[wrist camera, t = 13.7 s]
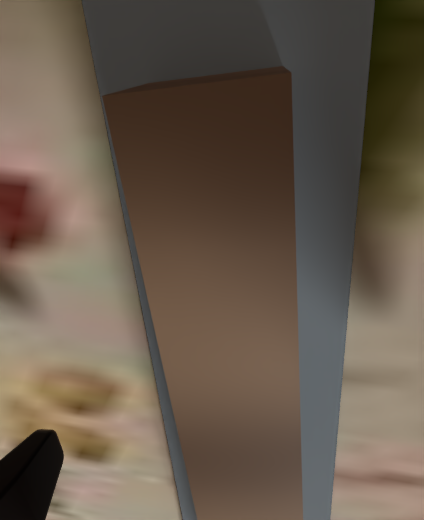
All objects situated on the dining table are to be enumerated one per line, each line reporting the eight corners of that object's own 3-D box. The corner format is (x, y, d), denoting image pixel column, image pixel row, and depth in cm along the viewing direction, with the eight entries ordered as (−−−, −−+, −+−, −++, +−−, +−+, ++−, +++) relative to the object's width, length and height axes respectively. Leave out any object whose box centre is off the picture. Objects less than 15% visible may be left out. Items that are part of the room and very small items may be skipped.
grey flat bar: (322, 569, 15) (324, 584, 15) (195, 558, 16) (193, 572, 16) (376, -104, 6) (384, -117, 6) (80, -63, 7) (68, -70, 7)
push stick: (299, 557, 14) (306, 649, 12) (230, 553, 15) (225, 641, 13) (283, 65, 7) (291, 72, 5) (149, 83, 8) (102, 96, 5)
